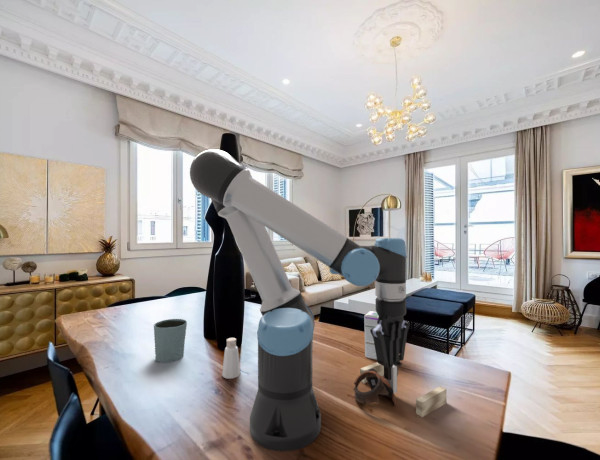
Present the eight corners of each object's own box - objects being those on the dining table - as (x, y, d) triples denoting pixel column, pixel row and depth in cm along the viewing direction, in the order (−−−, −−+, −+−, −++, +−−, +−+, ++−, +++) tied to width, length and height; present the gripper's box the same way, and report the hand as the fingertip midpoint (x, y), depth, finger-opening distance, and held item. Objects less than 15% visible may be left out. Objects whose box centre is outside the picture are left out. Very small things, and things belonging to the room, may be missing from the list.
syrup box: (381, 361, 91) (381, 316, 92) (364, 357, 95) (363, 314, 95) (386, 354, 96) (385, 312, 96) (369, 351, 99) (369, 310, 100)
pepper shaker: (220, 374, 83) (220, 337, 83) (238, 370, 85) (238, 334, 85) (223, 383, 78) (223, 343, 78) (242, 379, 80) (242, 340, 80)
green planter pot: (148, 358, 93) (149, 323, 94) (178, 349, 101) (179, 316, 101) (160, 368, 87) (160, 330, 87) (192, 358, 94) (192, 322, 94)
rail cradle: (422, 420, 62) (422, 402, 62) (360, 382, 78) (360, 368, 78) (446, 405, 68) (446, 388, 68) (384, 373, 84) (383, 359, 84)
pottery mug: (403, 417, 63) (388, 388, 62) (366, 430, 65) (350, 403, 64) (391, 378, 75) (378, 354, 74) (360, 391, 77) (346, 367, 76)
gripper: (385, 304, 65) (386, 406, 64) (418, 297, 72) (419, 389, 72) (361, 298, 71) (362, 391, 71) (394, 292, 78) (394, 376, 78)
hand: (390, 390), depth 71 cm, fingers closed
